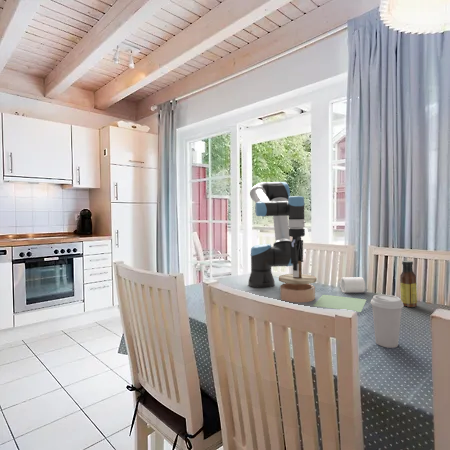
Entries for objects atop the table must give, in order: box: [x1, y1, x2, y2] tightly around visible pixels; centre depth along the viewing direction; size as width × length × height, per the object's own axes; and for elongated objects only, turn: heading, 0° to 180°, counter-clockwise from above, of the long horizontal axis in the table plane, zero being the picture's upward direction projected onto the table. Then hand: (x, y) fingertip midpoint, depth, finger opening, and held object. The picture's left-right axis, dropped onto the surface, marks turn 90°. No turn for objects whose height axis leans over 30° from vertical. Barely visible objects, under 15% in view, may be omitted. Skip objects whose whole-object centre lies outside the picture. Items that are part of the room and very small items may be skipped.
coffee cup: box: [370, 294, 405, 349], centre depth 102 cm, size 10×10×15 cm
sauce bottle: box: [399, 260, 418, 308], centre depth 140 cm, size 6×6×20 cm
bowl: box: [279, 283, 316, 303], centre depth 155 cm, size 16×16×6 cm
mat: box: [312, 294, 367, 313], centre depth 145 cm, size 20×20×1 cm
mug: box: [339, 276, 366, 294], centre depth 165 cm, size 12×10×8 cm
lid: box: [278, 261, 318, 285], centre depth 155 cm, size 18×18×9 cm
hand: (297, 275), depth 155 cm, fingers closed on lid, 4 cm apart
